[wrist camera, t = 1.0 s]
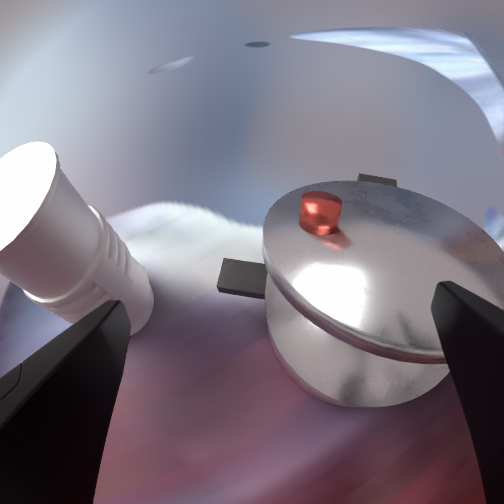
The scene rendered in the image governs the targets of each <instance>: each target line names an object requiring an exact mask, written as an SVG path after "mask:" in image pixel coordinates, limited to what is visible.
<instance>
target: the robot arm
mask: <svg viewBox="0 0 504 504" xmlns="http://www.w3.org/2000/svg"><path fill="white" fill-rule="evenodd" d="M431 314H432V317H433V320H434V323H435V327H436V330H437V333H438V337H439V340H440V344H441V347H442V351H443V354H444V357H445V360H446V362H447V365H448V368H449V370H450V373H451V376H452V379H453V381H454V384H455V387H456V390H457V393H458V396H459V399H460V402H461V405H462V408H463V411H464V414H465V417H466V421H467V424H468V427H469V431H470V434H471V438H472V441H473V445H474V449H475V453H476V457H477V461H478V465H479V469H480V473H481V478H482V483H483V488H484V493H485V498H486V503H487V504H504V310H503V309H501V308H499V307H498V306H496V305H494V304H492V303H491V302H489V301H487V300H485V299H483V298H482V297H480V296H478V295H476V294H474V293H473V292H471V291H469V290H467V289H465V288H463V287H462V286H460V285H458V284H456V283H454V282H452V281H440V282H438V283H437V285H436V288H435V292H434V295H433V299H432V302H431ZM130 332H131V323H130V320H129V317H128V314H127V311H126V309H125V306H124V304H123V302H122V301H121V300H107V301H106V302H104V303H103V304H102V305H100V306H99V307H97V308H96V309H94V310H93V311H92V312H90V313H89V314H87V315H86V316H84V317H83V318H82V319H80V320H79V321H77V322H76V323H75V324H73V325H72V326H70V327H69V328H68V329H66V330H65V331H63V332H62V333H61V334H59V335H58V336H57V337H55V338H54V339H52V340H51V341H50V342H48V343H47V344H46V345H44V346H43V347H42V348H40V349H39V350H37V351H36V352H35V353H33V354H32V355H31V356H29V357H28V358H27V359H25V360H24V361H23V363H20V364H19V365H17V366H16V367H15V368H13V369H12V370H11V371H9V372H8V373H7V374H5V375H4V376H3V377H1V378H0V504H93V501H94V500H93V499H94V495H95V489H96V484H97V479H98V474H99V469H100V464H101V459H102V455H103V450H104V446H105V442H106V437H107V433H108V429H109V425H110V421H111V417H112V413H113V409H114V405H115V401H116V397H117V394H118V390H119V386H120V383H121V379H122V375H123V370H124V365H125V359H126V353H127V348H128V342H129V337H130Z"/></svg>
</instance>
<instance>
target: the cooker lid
mask: <svg viewBox="0 0 504 504" xmlns="http://www.w3.org/2000/svg"><path fill="white" fill-rule="evenodd" d="M262 248H263V258H264V262H265V266H266V269H267V271H268V273H269V275H270V277H271V279H272V281H273V283H274V284H275V286H276V287H277V288H278V290H279V291H280V293H281V294H282V295H283V296H284V298H285V299H286V300H287V301H288V302H289V303H290V304H291V305H292V306H293V307H294V308H295V309H296V310H297V311H298V312H299V313H301V314H302V315H303V316H304V317H305V318H307V319H308V320H309V321H310V322H311V323H313V324H314V325H316V326H317V327H319V328H320V329H322V330H323V331H325V332H327V333H328V334H330V335H331V336H333V337H335V338H337V339H339V340H341V341H343V342H345V343H347V344H349V345H351V346H353V347H355V348H358V349H360V350H363V351H366V352H368V353H371V354H374V355H376V356H380V357H384V358H388V359H392V360H396V361H400V362H407V363H416V364H446V363H447V362H446V360H445V357H444V354H443V351H442V347H441V344H440V340H439V337H438V333H437V330H436V327H435V323H434V320H433V317H432V314H431V302H432V299H433V295H434V292H435V288H436V285H437V283H438V282H440V281H452V282H454V283H456V284H458V285H460V286H462V287H463V288H465V289H467V290H469V291H471V292H473V293H474V294H476V295H478V296H480V297H482V298H483V299H485V300H487V301H489V302H491V303H492V304H494V305H496V306H498V307H499V308H501V309H503V310H504V252H503V251H502V249H501V248H500V247H499V245H498V244H497V243H496V242H495V241H494V240H493V239H492V238H491V237H490V236H489V235H488V234H487V233H486V232H485V231H484V230H483V229H481V228H480V227H479V226H478V225H477V224H475V223H474V222H473V221H471V220H470V219H468V218H467V217H465V216H464V215H462V214H461V213H459V212H457V211H456V210H454V209H452V208H450V207H448V206H447V205H445V204H442V203H440V202H438V201H436V200H434V199H431V198H429V197H427V196H424V195H421V194H419V193H416V192H412V191H410V190H406V189H402V188H398V187H395V186H390V185H385V184H380V183H373V182H364V181H330V182H321V183H316V184H311V185H307V186H304V187H301V188H298V189H296V190H293V191H291V192H289V193H287V194H286V195H284V196H283V197H281V198H280V199H279V200H277V201H276V202H275V203H274V204H273V206H272V207H271V208H270V209H269V211H268V213H267V215H266V217H265V221H264V226H263V242H262Z"/></svg>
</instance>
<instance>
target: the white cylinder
mask: <svg viewBox="0 0 504 504" xmlns="http://www.w3.org/2000/svg"><path fill="white" fill-rule="evenodd" d="M0 274H1V275H2V276H4V277H5V278H7V279H8V280H10V281H11V282H13V283H14V284H16V285H17V286H19V287H20V288H22V289H23V291H24V293H25V295H26V296H27V297H28V298H29V299H30V300H32V301H33V302H34V303H36V304H38V305H40V306H42V307H43V308H44V309H46V310H48V311H50V312H53V313H54V314H55V315H57V316H58V317H61V318H63V319H64V320H66V321H68V322H70V323H73V324H75V323H76V322H77V321H79V320H80V319H82V318H83V317H84V316H86V315H87V314H89V313H90V312H92V311H93V310H94V309H96V308H97V307H99V306H100V305H102V304H103V303H104V302H106V301H107V300H121V301H122V302H123V304H124V306H125V309H126V311H127V314H128V317H129V320H130V323H131V332H130V336H132V335H133V334H135V333H137V332H138V331H140V330H141V329H142V328H143V327H144V326H145V325H146V323H147V322H148V320H149V318H150V316H151V314H152V311H153V307H154V294H153V289H152V287H151V285H150V283H149V279H148V275H147V273H146V272H145V270H144V268H143V267H142V266H141V265H140V263H139V262H138V261H137V260H135V259H134V258H133V257H132V256H131V254H130V252H129V250H128V248H127V246H126V245H125V243H124V242H123V241H122V240H121V239H120V237H119V236H118V235H117V233H116V232H115V231H114V230H113V228H112V227H111V226H110V224H109V223H108V222H107V221H106V220H105V218H104V217H103V215H102V214H101V213H100V212H99V211H98V210H97V209H96V208H95V207H94V206H91V205H89V204H87V203H86V202H85V201H84V200H83V198H82V197H81V196H80V194H79V193H78V192H77V190H76V189H75V188H74V187H73V185H72V184H71V182H70V181H69V180H68V178H67V177H66V176H65V174H64V173H63V172H62V170H61V169H60V162H59V158H58V155H57V154H56V152H55V151H54V150H53V148H52V147H51V146H50V145H49V144H47V143H43V142H32V143H28V144H25V145H22V146H20V147H18V148H16V149H14V150H13V151H11V152H9V153H8V154H6V155H5V156H4V157H3V158H1V159H0Z"/></svg>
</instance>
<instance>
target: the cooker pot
mask: <svg viewBox="0 0 504 504" xmlns="http://www.w3.org/2000/svg"><path fill="white" fill-rule="evenodd" d="M357 181H364V182H373V183H380V184H385V185H390V186H395V187H397V183H396V180H394V179H388V178H383V177H377V176H370V175H365V174H359V176H358V179H357ZM217 288H218V291H219V292H222V293H227V294H233V295H240V296H246V297H252V298H258V299H265V302H266V315H267V325H268V332H269V338H270V341H271V344H272V348H273V350H274V353H275V355H276V357H277V359H278V361H279V363H280V364H281V366H282V367H283V369H284V371H285V372H286V373H287V374H288V375H289V377H290V378H291V379H292V380H293V381H294V382H295V383H296V384H297V385H298V386H299V387H301V388H302V389H303V390H304V391H306V392H307V393H309V394H311V395H312V396H314V397H316V398H318V399H320V400H322V401H324V402H327V403H330V404H334V405H337V406H344V407H385V406H391V405H397V404H401V403H404V402H407V401H410V400H413V399H415V398H417V397H419V396H421V395H423V394H425V393H426V392H427V391H429V390H430V389H432V388H433V387H435V386H436V385H437V384H438V383H439V382H440V381H441V380H442V379H443V378H444V377H445V376H446V375H447V374H448V373H449V372H450V370H449V368H448V365H447V363H446V364H416V363H407V362H400V361H396V360H392V359H388V358H384V357H380V356H376V355H374V354H371V353H368V352H366V351H363V350H360V349H358V348H355V347H353V346H351V345H349V344H347V343H345V342H343V341H341V340H339V339H337V338H335V337H333V336H331V335H330V334H328V333H327V332H325V331H323V330H322V329H320V328H319V327H317V326H316V325H314V324H313V323H311V322H310V321H309V320H308V319H307V318H305V317H304V316H303V315H302V314H301V313H299V312H298V311H297V310H296V309H295V308H294V307H293V306H292V305H291V304H290V303H289V302H288V301H287V300H286V299H285V298H284V296H283V295H282V294H281V293H280V291H279V290H278V288H277V287H276V286H275V284H274V283H273V281H272V279H271V277H270V275H269V273H268V271H267V269H266V266H265V264H261V263H254V262H247V261H241V260H234V259H227V258H224V259H223V263H222V267H221V271H220V275H219V279H218V283H217Z"/></svg>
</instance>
